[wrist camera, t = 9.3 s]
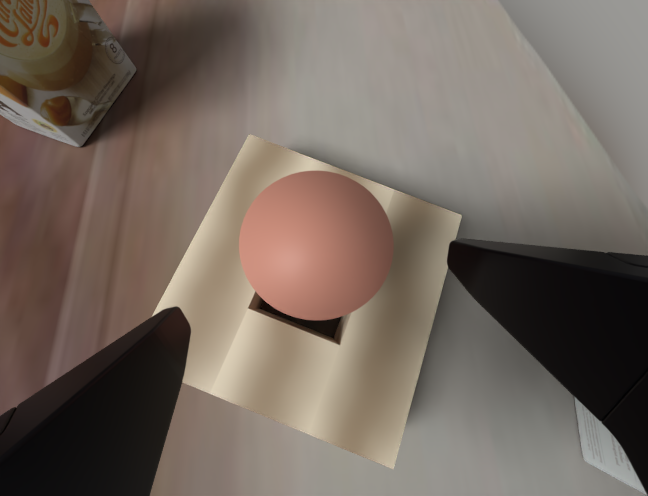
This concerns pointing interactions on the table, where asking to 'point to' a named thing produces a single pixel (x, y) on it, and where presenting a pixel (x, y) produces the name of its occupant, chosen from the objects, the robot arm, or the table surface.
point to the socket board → (301, 342)
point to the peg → (316, 245)
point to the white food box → (58, 67)
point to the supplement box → (604, 449)
